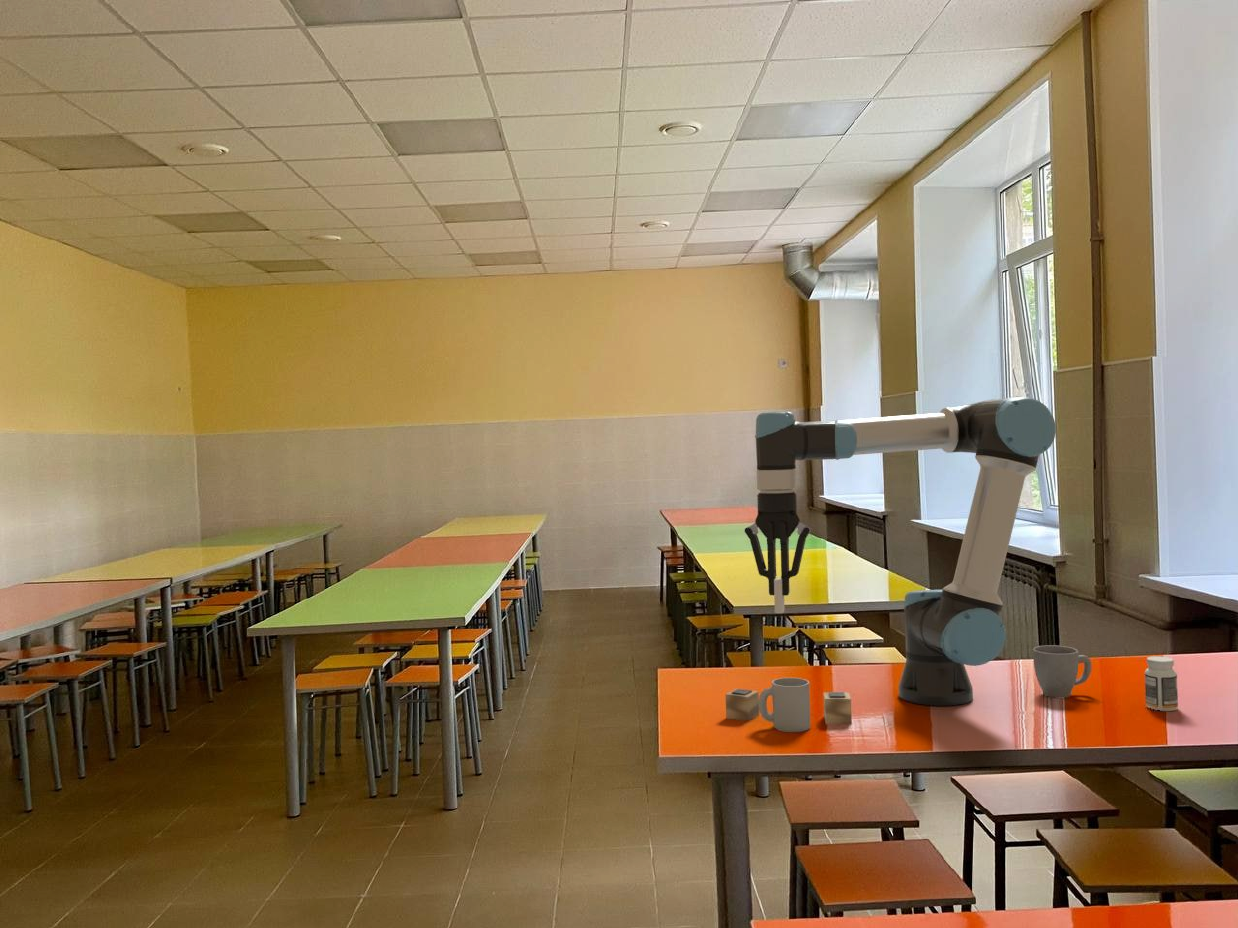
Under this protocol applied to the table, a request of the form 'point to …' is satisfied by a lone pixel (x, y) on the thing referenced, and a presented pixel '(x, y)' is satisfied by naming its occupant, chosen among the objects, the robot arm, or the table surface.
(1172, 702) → the pill bottle
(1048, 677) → the mug
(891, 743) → the table surface
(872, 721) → the table surface
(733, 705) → the oak block
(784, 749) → the table surface
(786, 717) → the cup
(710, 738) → the table surface
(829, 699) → the oak block
